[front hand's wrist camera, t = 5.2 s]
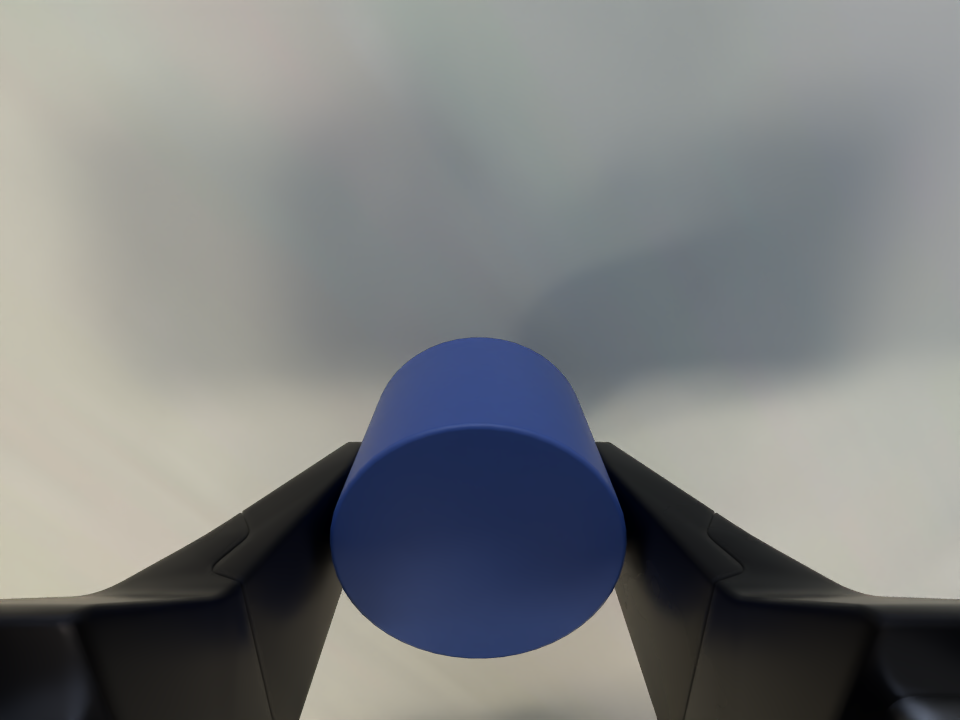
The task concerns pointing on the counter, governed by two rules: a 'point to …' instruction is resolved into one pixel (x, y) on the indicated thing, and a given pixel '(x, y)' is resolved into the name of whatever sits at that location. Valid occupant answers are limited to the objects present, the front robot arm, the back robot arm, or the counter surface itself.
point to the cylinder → (478, 506)
